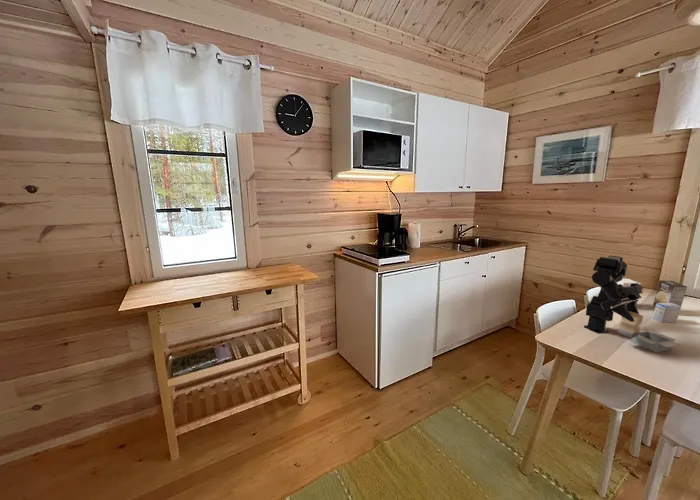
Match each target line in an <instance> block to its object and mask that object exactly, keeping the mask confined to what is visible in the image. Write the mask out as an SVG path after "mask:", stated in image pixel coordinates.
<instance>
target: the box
mask: <svg viewBox="0 0 700 500" xmlns="http://www.w3.org/2000/svg"><path fill="white" fill-rule="evenodd" d="M629 312H630V314H631V316H632V317H633V319H634V321H633V322H630V321H629V320H627V319H626V318H624V317H622V316H621V320H620V324H619V328H618V331H617V333H618V334H621V335H623V336H625V337H628V338H631V339H632V338H633V337H637V336H639V332H640V329H642V323H643V319H644V315H642V314H640V313H639V314H637V313H634V312H631V311H629Z"/></svg>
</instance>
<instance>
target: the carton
mask: <svg viewBox="0 0 700 500" xmlns="http://www.w3.org/2000/svg"><path fill="white" fill-rule="evenodd" d="M630 342H631V343H633V344H635V345H638V346H640V347H642V348H645V349H646V350H649V351H652V352H654V353H659V352H666V351H670V350H672V347H675V346H681V344H680V343H677V342H676V339H675V338H672V337H671V336H670V337H669V336H667V335H665V334H662V333H659V332H657V331H655V330H652V331H651V330H650V331H648V330H645V329H642V328H640V332H639V336H637V337H633V338H631V340H630Z"/></svg>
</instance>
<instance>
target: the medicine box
mask: <svg viewBox="0 0 700 500" xmlns="http://www.w3.org/2000/svg"><path fill="white" fill-rule="evenodd" d="M681 307H682V305H681V306H679V305H676V304H673V303H656V307H655V308H654V312H653V316H652V319H653V320H655V321H658V322H660V323H677V321H678V317H679V315H680V312H681V309H682V308H681ZM680 308H681V309H680Z"/></svg>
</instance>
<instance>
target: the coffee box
mask: <svg viewBox="0 0 700 500" xmlns="http://www.w3.org/2000/svg"><path fill="white" fill-rule="evenodd" d="M687 288H688V286H687V285H684V284H682V283H678V282H676V281H674V280H662V279H661V280H659V281H658V285H657V289H656V293H655V295H654V300H653V304H652V308H653V309H655V307H656V303H673V304H676V305H679V306H681V307H682V305H683V302H684V301H683V300H684V298H685V295H686V291H687ZM681 309H682V308H680V310H681Z"/></svg>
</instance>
